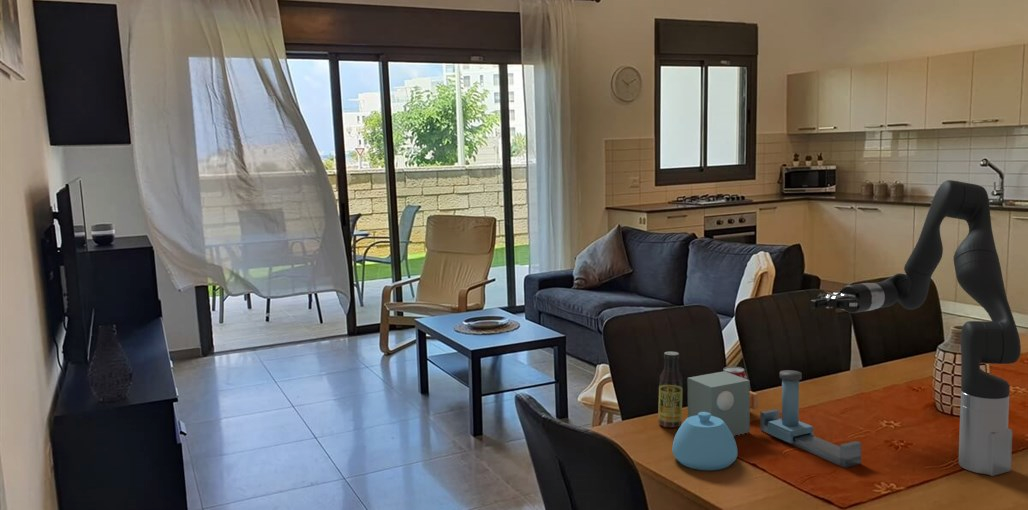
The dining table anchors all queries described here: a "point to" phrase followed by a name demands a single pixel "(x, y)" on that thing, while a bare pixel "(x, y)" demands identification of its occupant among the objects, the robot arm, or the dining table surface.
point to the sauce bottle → (670, 392)
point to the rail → (818, 444)
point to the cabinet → (721, 399)
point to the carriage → (789, 410)
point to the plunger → (753, 400)
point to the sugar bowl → (704, 443)
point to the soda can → (736, 371)
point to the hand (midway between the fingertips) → (812, 304)
